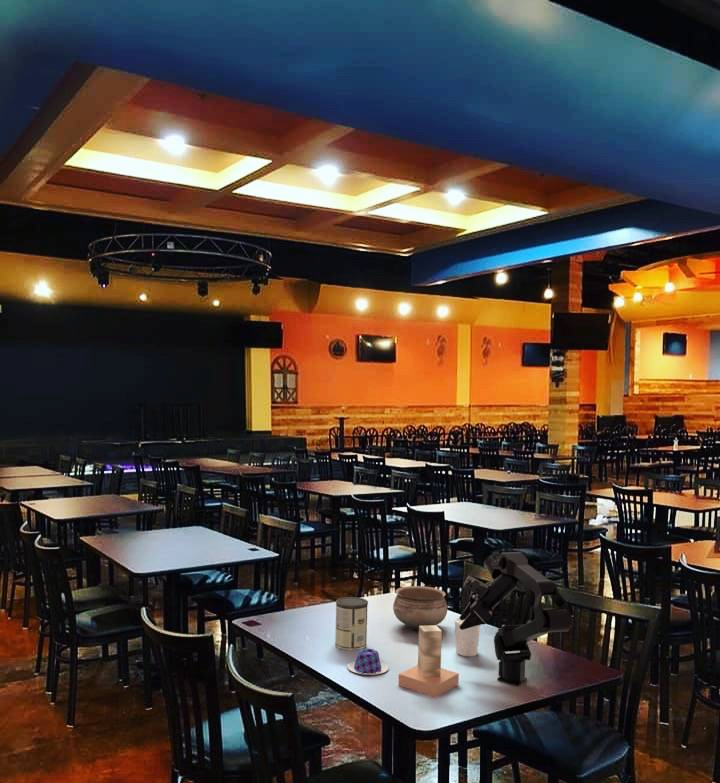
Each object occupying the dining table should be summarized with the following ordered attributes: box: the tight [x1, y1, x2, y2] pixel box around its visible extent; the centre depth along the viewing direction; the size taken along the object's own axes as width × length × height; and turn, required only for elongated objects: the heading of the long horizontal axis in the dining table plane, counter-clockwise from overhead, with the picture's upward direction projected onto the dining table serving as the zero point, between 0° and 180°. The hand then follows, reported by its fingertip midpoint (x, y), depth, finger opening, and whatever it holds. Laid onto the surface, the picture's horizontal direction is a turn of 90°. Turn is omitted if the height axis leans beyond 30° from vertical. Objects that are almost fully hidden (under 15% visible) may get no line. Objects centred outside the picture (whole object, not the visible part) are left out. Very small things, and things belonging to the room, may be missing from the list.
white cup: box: [454, 617, 481, 657], centre depth 221 cm, size 8×8×10 cm
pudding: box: [347, 648, 389, 676], centre depth 205 cm, size 12×12×5 cm
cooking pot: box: [392, 585, 448, 631], centre depth 246 cm, size 25×19×12 cm
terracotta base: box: [398, 664, 460, 698], centre depth 195 cm, size 12×12×3 cm
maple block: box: [417, 625, 443, 677], centre depth 195 cm, size 5×5×12 cm
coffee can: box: [334, 596, 369, 652], centre depth 225 cm, size 10×10×14 cm
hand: (460, 623), depth 206 cm, fingers open, 9 cm apart
